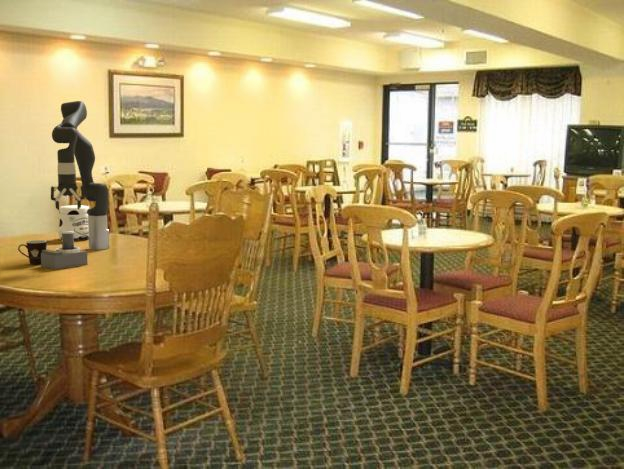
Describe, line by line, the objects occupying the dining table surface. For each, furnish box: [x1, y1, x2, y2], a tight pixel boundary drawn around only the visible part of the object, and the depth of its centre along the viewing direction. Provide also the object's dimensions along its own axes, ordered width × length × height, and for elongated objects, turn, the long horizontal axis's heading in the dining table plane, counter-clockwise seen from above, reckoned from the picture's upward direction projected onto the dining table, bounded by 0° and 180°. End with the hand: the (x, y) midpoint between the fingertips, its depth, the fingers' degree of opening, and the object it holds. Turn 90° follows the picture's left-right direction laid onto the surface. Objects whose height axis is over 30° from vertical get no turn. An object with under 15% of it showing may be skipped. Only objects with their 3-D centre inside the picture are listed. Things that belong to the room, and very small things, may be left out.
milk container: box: [57, 204, 90, 241], centre depth 389 cm, size 17×17×18 cm
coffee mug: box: [17, 239, 48, 266], centre depth 319 cm, size 12×9×10 cm
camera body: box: [40, 246, 88, 270], centre depth 315 cm, size 16×11×8 cm
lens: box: [61, 231, 75, 250], centre depth 316 cm, size 5×5×9 cm
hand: (68, 209), depth 316 cm, fingers open, 8 cm apart
